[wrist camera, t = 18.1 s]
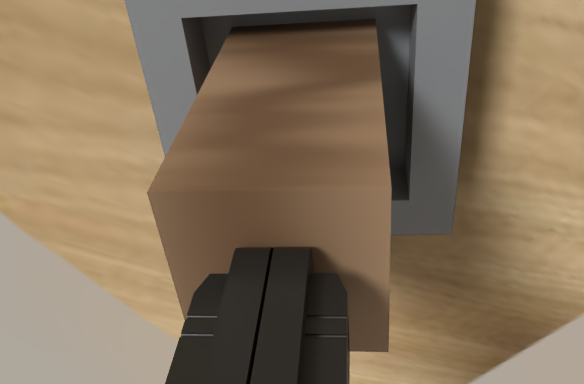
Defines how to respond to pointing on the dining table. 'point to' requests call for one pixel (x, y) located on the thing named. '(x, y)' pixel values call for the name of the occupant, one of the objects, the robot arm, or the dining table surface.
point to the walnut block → (286, 165)
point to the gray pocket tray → (393, 66)
